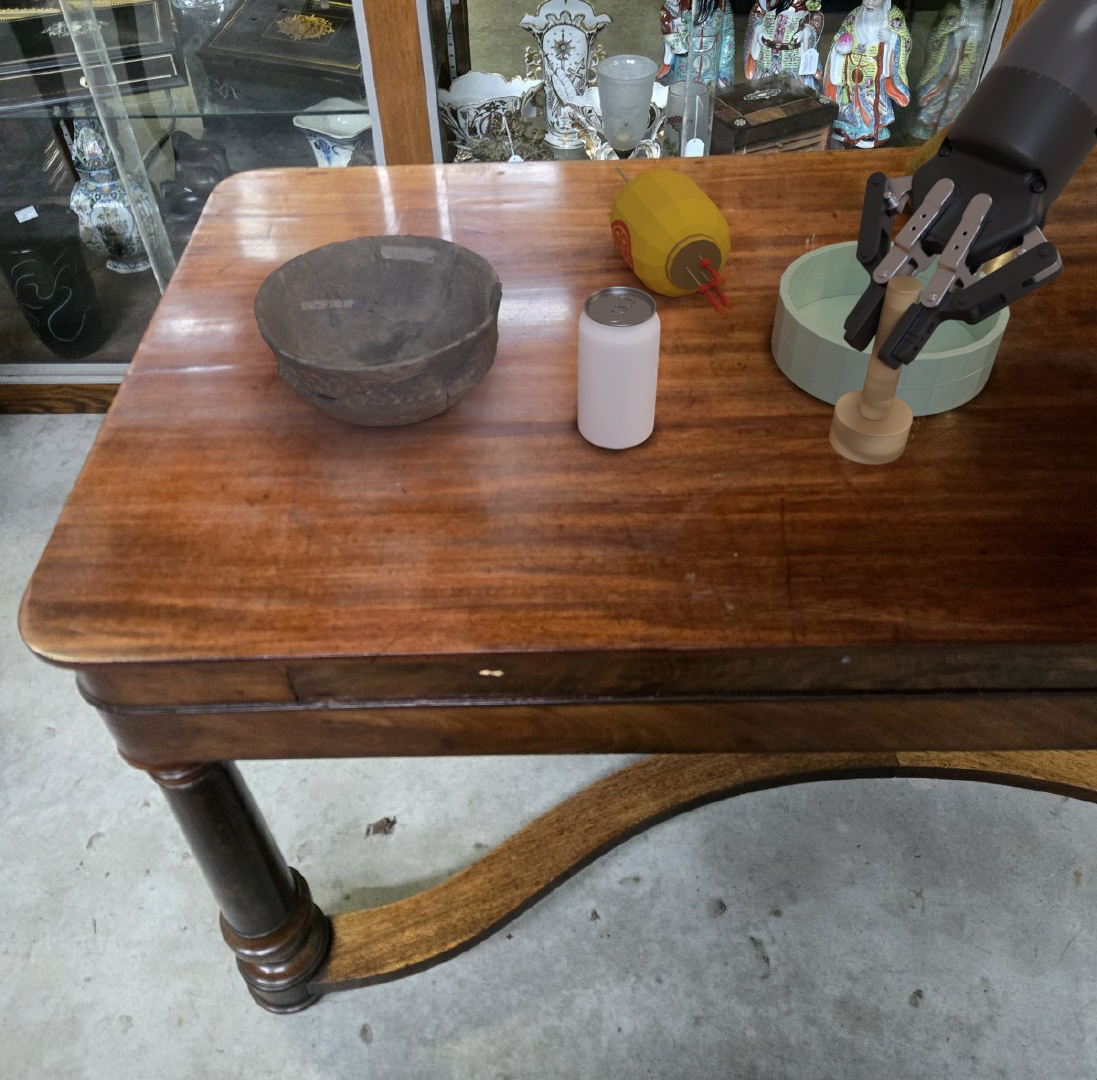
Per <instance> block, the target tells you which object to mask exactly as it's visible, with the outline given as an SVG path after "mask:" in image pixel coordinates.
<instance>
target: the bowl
mask: <svg viewBox="0 0 1097 1080" xmlns="http://www.w3.org/2000/svg"><path fill="white" fill-rule="evenodd" d="M502 290H503V282H501V281H500V277H499V275H498V272H497V270H496V269H495V268H494V267H493V266H492V265H491V263H489V261H488V259H486V258H485V257H483V256H481V254H479V253H476V252H475V251H472V250H471V249H469V248H468V247H467V248H466V247H465V246H462V245H461V244H459V243H457V242H453V241H450V240H446V239H443V238H439V237H438V238H437V237H433V236H426V235H425V236H424V235H415V234H410V233H408V234H405V235H404V234H387V235H385V234H383V235H382V234H380V235H376V236H374V235H367V236H359V237H356V238H351V239H347V240H341V241H333V242H330V243H327V244H324V245H321V246H318V247H316V248H313V249H310V250H308V251H306V252H305V253H303V254H302V253H301V254H298V255H297V256H295V257H293V258H292V259H290V260H288V261H286V262H285V263H283V264H282V265H280V266H279V267H278V268H276V269H275V270H272V271H271V272H270V273H269V274H268V275H267V276H266V278H265V279H264V280H263V282H262V284H261V285H260V287H259V289H258V290H257V294H256V296H255V299H254V305H253V312H254V316H255V320H256V322H257V328H258V331H259V333H260V335H261V337H262V339H263V340H264V342H265V343H266V344H267V346H268V347H269V349H270V350H271V351H272V352H273V354H274V356H275V358H276V363H277V374H278V377H279V378H280V380H281V381H282V382H283V383H285V384H286V385H288V386H289V387H290V389H291V390H292V391H293V392H294V393H295V394H296V395H297V396H299V398H301V399H302V400H304V401H305V402H307V403H308V405H311V406H312V407H314V408H315V409H317V410H318V411H320V412H322V413H323V414H325V415H327V416H329V417H331V418H334V419H337V420H339V421H343V422H345V423H349V424H354V425H360V426H365V427H393V426H403V425H408V424H413V423H416V422H420V421H424V420H429V419H430V418H432V417H436V416H437V415H439V414H442V413H444V412H445V411H447V410H448V409H449V408H452V407H453V406H455V405H456V404H458V403H459V402H460V401H461V400H463V399H464V398H465V397H467V395H468V394H470V393H471V392H472V391H473V390H474V389H475V388H476V387H477V386H479V384H481V382H482V381H483V379H484V378H485V377H486V376H487V374H488V373H489V371H490V370H491V368H492V366H493V364H494V362H495V358H496V356H497V350H498V343H499V339H500V337H499V336H500V334H499V329H498V327H499V325H498V324H499V323H498V321H499V320H498V319H499V312H500V309H501V308H500V307H501V302H502V298H503V291H502Z"/></svg>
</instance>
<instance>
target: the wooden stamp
mask: <svg viewBox="0 0 1097 1080" xmlns="http://www.w3.org/2000/svg"><path fill="white" fill-rule="evenodd" d="M922 287H923V285H922V283H921V282H920V281H919V280H918V279H916V278H914V277H911V276H906V275H899V276H894V277H892V278H890V279H889V281H888V284H887V288H886V293H885V297H884V301H883V306H882V310H881V314H880V319H879V323H878V327H877V331H876V336H875V340H874V344H873V349H872V353H871V357H870V361H869V366H868V370H867V374H866V379H865V383H864V387H863V390H858V391H853V392H850V393H847V394H845V395H843V396H842V397H841V398H840V399H839V400H838V401H837V403H836V405H834V410H833V414H832V420H831V424H830V428H829V433H828V440H829V443H830V446H831V447H832V449H834V451H835V452H836V453H837V454H839V455H841V457H843V458H845V459H847V460H848V461H851V462H855V463H859V464H862V465H869V466H870V465H872V466H873V465H884V464H889V463H891V462H894V461H897V460H898V459H899V458H900V457H901V456H902V455H903V454H904V453H905V449H906V445H907V442H908V438H909V435H910V431H911V427H912V424H913V420H914V417H913V415H912V411H911V409H910V408H909V406H908V405H907V404H906V403H905V402H904V401H902V400H901V399H899V398H897V397H896V396H894V395H895V391H896V388H897V384H898V380H899V376H900V372H901V368H902V364H901V366H900V367H899V368H898V369H897V370H892V369H891V368H889V367H887V366H885V365H884V364H883V363H882V362H881V361H880V360H879V359H878V357H877V356H878V352H879V350H880V348H881V347H882V346H883V344H884V343H885V341H886V340H887V338H888V337H889V336H890V334H891V333H892V331H893V330H894V328H895V327H896V326H897V324H898V323H899V321H900V320H901V318H902V317H903V316H904V314H905V313H906V311H907V310H908V308H909V307H910V306H911V304H912V303H915V304H917V305H918V303H919V299H920V295H921V291H922Z"/></svg>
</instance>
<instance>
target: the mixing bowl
mask: <svg viewBox="0 0 1097 1080" xmlns="http://www.w3.org/2000/svg"><path fill="white" fill-rule="evenodd" d="M857 245H858V240H848V241H843V242H837V243H832V244H827V245H823V246H821V247H818V248H815V249H813V250H810V251H807V252H805V253H804V254H802V255H801V256H799V257H798V258H796V259H795V260H794V261H792V262H791V263H789V265H788V266H787V268H786V269H785V271H784V272H783V273H782V275H781V277H780V281H779V286H778V292H777V299H776V304H775V305H776V306H775V310H774V311H775V312H774V318H773V325H772V331H771V332H772V333H771V339H770V349H771V353H772V356H773V359H774V361H775V363H776V365H777V366H778V368H779V369H780V371H781V372H782V373H783V374H784V376H786V377H787V378H788V380H789V381H791V382H792V383H793V384H794V385H795V386H797V387H798V388H800V389H801V390H803V391H804V392H806V393H808V394H809V395H811V396H813V397H815V398H817V399H819V400H820V401H823V402H826V403H828V404H831V405H833V406H835V405H836V403H837V401H838V400H839V399H840V398H841V397H842V396H843V395H845V394H847V393H850V392H853V391H858V390H863V387H864V383H865V379H866V374H867V370H868V366H869V361H870V357H871V353H872V349H873V344H874V340H875V336H876V335H875V336H874V338H873V339H872V341H871V342H870V344H869V345H868V346H867V348H866V349H865V350H864V351H862V352H860V351H858V350H856V349H854V348H852V347H851V346H850V345H849V344H848V343H847V342H846V341H845V340H844V334H845V332H846V330H845V329H844V328H843V327H844V323H845V320H846V318H847V317H848V315H849V314H850V312H852V309H853V308H854V306H856V304H857V302H858V301H859V299H860V298H861V296H862V295H863V293H864V292H865V291H866V289H867V288H868V286H869V284H870V275H869V274H868V272H867V271H866V270H865V269H864V267H863V266H862V265H861V264H860V262H859V261H858V260H857V258H856V252H857ZM893 245H894V241H892V240H891V247H890V250H891V249H892V248H893ZM940 256H941V255H938V256H937V257H936V258H935V260H934V261H933V262H932V263H931V265H930V266H929V267H928V268H927V269H926V270H925V271H921V272H919V273H918V275H917V276H916V277H915V278H916V279H918V280H919V281H920V282H921V283H922V285H923V287H922V291H921V295H922V293H923V292H924V290H925V288H926V287H927V285H928V283H929V282H930V280H931V278H932V277H933V275H934V273H935V272H936V270H937V264H938V260H939V258H940ZM987 275H988V274H986V273H985V272H984V271H983V270H982V271H981V273H980V274H979V276H978V278H977V279H976V281H975V282H977V281H978V280H980V279H982V278H983V277H985V276H987ZM921 295H920V299H919V303H920V301H921ZM919 303H918V304H919ZM1009 306H1010V305H1009ZM1009 306H1007V307H1005V308H1004V309H1002V310H1000V311H998V312H997V313H995V314H993V315H991V316H990V317H988V318H986V319H985V320H983V321H981V322H979V323H978V324H975V325H968V324H966V323H965V322H964V321H959V320H947V321H944V322H942V323H941V324H940V325H939V326H938V327H937V328H936V330H935V331H934V333H933V334H932V335H931V337H930V338H929V340H928V341H927V342H926V344H925V345H924V346H923V348H922V350H921V351H920V352H919V354H918V355H917V357H916V358H915V359H914V360H913V361H912V362H911V363H909V364H908V365H907V366H906V365H904V364H902V368H901V372H900V376H899V380H898V384H897V388H896V391H895V395H894V396H896V397H897V398H899V399H901V400H902V401H904V402H905V403H906V404H907V405H908V406H909V408H910V409H911V411H912V415H913V418H914V417H925V416H931V415H935V414H940V413H944V412H947V411H951V410H953V409H956V408H958V407H961V406H962V405H965V404H966V403H968V402H970V401H971V400H972V399H974V398H975V397H976V396H977V395H979V394H980V392H981V391H982V390H983V389H984V388H985V386H986V384H987V382H988V380H989V378H990V374H991V372H992V369H993V367H994V363H995V361H996V358H997V355H998V352H999V349H1000V346H1001V343H1002V340H1003V337H1004V334H1005V332H1006V328H1007V326H1008V323H1009V320H1010V316H1011V312H1010V307H1009Z"/></svg>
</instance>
